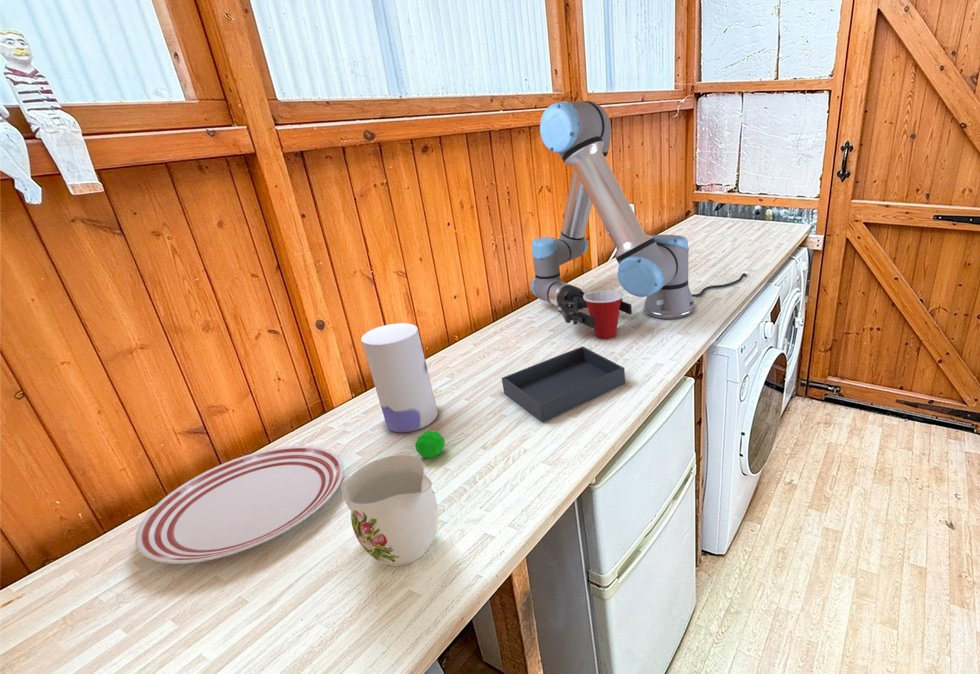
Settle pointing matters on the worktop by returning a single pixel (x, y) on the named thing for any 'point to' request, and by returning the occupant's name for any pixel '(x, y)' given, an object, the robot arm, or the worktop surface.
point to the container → (400, 376)
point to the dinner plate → (239, 504)
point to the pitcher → (392, 508)
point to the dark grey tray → (563, 382)
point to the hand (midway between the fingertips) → (612, 316)
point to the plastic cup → (604, 311)
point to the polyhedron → (429, 444)
